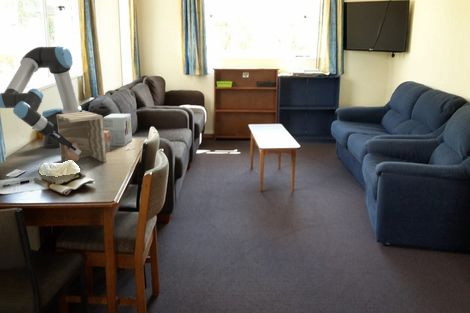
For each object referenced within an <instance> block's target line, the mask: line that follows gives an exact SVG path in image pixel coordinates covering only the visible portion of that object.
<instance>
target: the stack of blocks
mask: <svg viewBox="0 0 470 313" xmlns="http://www.w3.org/2000/svg"><path fill="white" fill-rule="evenodd" d="M104 140H105V153H109V152H110V151H111V147H112V146H110V132H109V131H104Z"/></svg>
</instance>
